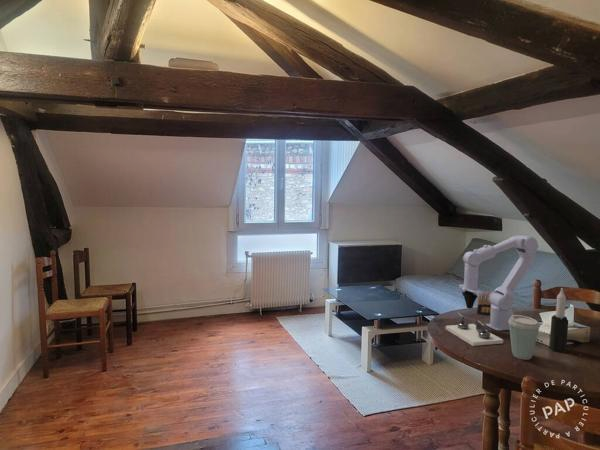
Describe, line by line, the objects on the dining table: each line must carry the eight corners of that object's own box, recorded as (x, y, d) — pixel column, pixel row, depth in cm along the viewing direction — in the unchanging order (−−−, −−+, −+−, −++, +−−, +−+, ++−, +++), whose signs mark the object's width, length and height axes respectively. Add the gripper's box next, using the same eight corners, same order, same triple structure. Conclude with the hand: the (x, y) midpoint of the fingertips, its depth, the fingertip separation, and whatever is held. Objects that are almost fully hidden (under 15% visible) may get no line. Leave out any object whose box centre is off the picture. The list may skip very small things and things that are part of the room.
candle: (563, 348, 166) (567, 287, 164) (566, 352, 162) (571, 290, 159) (548, 346, 168) (553, 285, 165) (551, 351, 163) (556, 288, 161)
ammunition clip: (499, 314, 209) (500, 291, 208) (500, 315, 207) (501, 292, 206) (476, 313, 211) (477, 290, 210) (477, 314, 209) (478, 290, 208)
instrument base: (473, 326, 190) (473, 322, 190) (503, 343, 171) (503, 338, 171) (445, 328, 187) (445, 324, 187) (472, 345, 168) (473, 340, 168)
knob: (469, 329, 182) (470, 319, 182) (459, 328, 182) (460, 318, 182) (461, 321, 192) (462, 312, 192) (452, 321, 192) (452, 312, 192)
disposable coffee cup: (537, 354, 160) (540, 316, 159) (538, 364, 151) (541, 324, 149) (506, 349, 165) (509, 312, 164) (505, 358, 156) (508, 320, 154)
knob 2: (491, 338, 171) (492, 328, 171) (480, 338, 171) (481, 327, 171) (482, 330, 181) (482, 320, 180) (472, 330, 181) (472, 320, 180)
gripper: (453, 275, 193) (452, 303, 194) (473, 282, 179) (471, 313, 180) (467, 274, 194) (465, 303, 195) (487, 281, 180) (485, 312, 181)
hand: (469, 308), depth 188 cm, fingers closed
